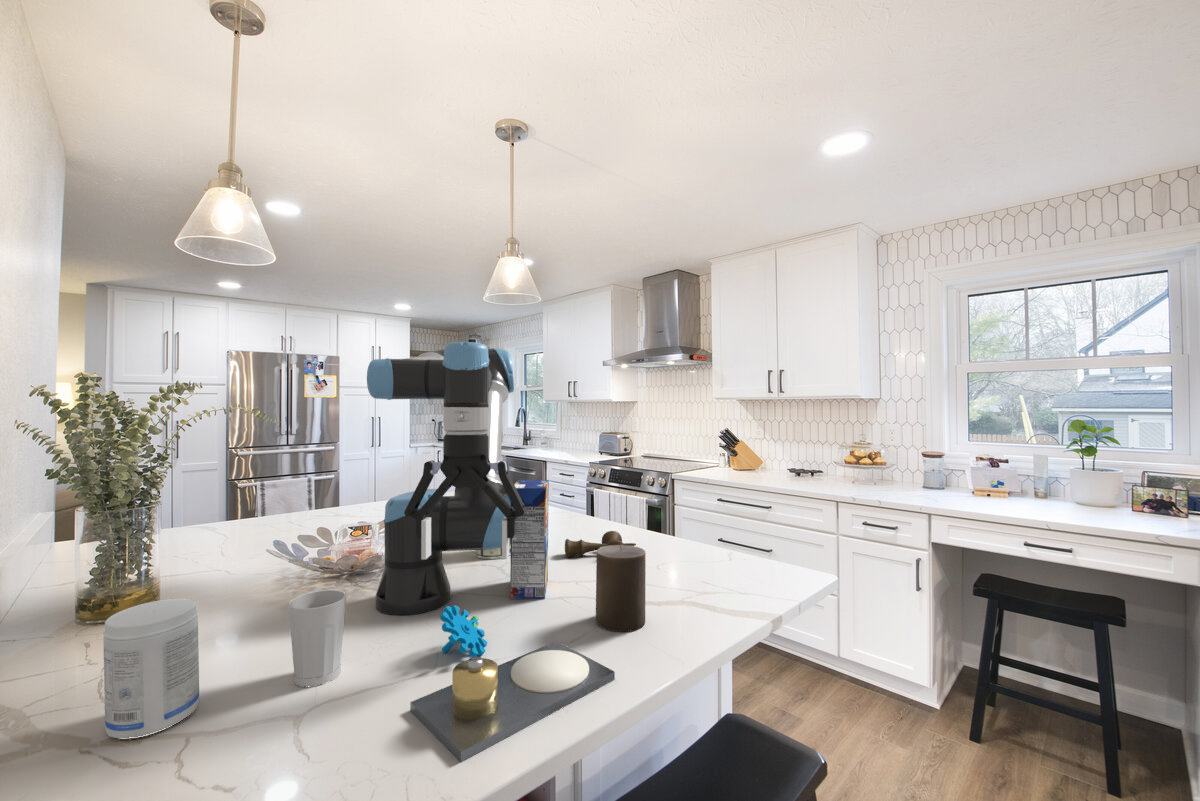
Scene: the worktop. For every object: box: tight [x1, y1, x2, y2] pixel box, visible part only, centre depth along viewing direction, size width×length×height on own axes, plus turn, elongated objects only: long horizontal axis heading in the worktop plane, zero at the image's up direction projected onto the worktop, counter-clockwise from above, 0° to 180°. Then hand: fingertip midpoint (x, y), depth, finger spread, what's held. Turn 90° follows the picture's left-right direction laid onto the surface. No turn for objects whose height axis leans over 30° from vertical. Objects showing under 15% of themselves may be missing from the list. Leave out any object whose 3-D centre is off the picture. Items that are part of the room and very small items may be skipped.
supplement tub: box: [102, 597, 200, 739], centre depth 69 cm, size 10×10×15 cm
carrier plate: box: [409, 640, 616, 763], centre depth 74 cm, size 26×14×7 cm, turn 134°
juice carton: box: [509, 479, 550, 600], centre depth 116 cm, size 12×8×24 cm, turn 3°
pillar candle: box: [595, 544, 646, 632], centre depth 99 cm, size 10×10×15 cm
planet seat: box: [511, 650, 589, 693], centre depth 79 cm, size 12×12×1 cm
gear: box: [439, 604, 488, 658], centre depth 88 cm, size 11×6×10 cm
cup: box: [287, 589, 348, 688], centre depth 80 cm, size 8×8×12 cm
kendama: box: [564, 530, 637, 559], centre depth 142 cm, size 6×10×20 cm
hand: (466, 557), depth 87 cm, fingers open, 13 cm apart
